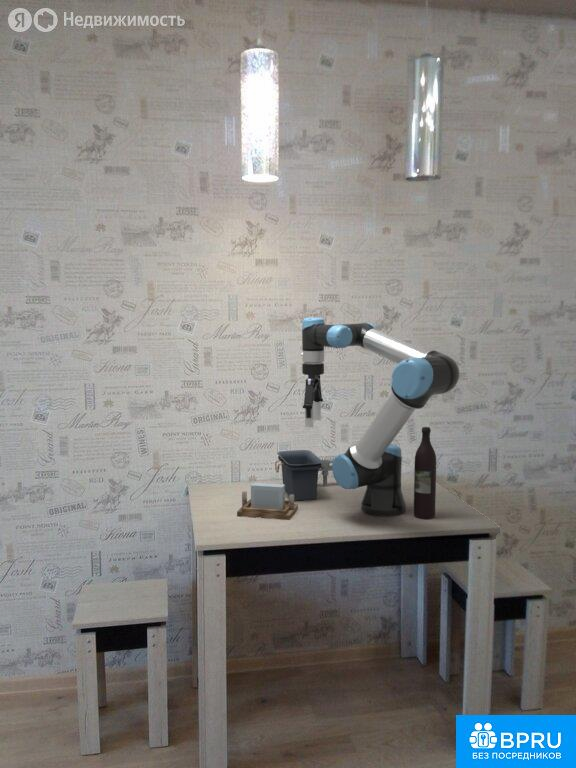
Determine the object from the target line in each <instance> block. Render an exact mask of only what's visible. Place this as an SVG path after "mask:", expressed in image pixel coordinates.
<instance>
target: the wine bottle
mask: <svg viewBox="0 0 576 768" xmlns="http://www.w3.org/2000/svg"><path fill="white" fill-rule="evenodd" d="M431 431H432V429H431V427H429V426H423V427H422V428H421V433H422V434H421V435H422V436H421V442H420V444H419V446H418V448H417V449H416V451H415V456H414V472H413V473H414V476H413V477H414V478H413V479H414V480H413V482H414V483H413V486H414V487H413V516H414V517H415V518H418V519H423V520H429V519H434V518H435V517H436V500H437V499H436V497H437V496H436V495H437V454H436V451H435V449H434V447H433V445H432V442H431Z"/></svg>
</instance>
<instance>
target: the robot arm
mask: <svg viewBox="0 0 576 768" xmlns="http://www.w3.org/2000/svg"><path fill="white" fill-rule="evenodd" d="M301 325H302V326H301V335H302V336H301V338H302V339H301V341H302V342H301V343H302V344H301V345H302V347H301V348H302V349H301V350H302V352H301V353H300V356H301V357H302V358H301V359H302V364H301V367H302V369H301V371H302V374H303V375H304V376H305V375H306V376H307V378H305V391H304V398H303V399H304V400H303V405H302V409H304V427H305V428H314V421H321V420H322V417H321V416H322V414H321V413H322V412H321V411H322V402H323V401H324V399H323V395H322V384H321V376H322V375H324V373H325V364H324V362H325V347H326V348H335V349H345V348H347V347H361V348H362V349H365V350H367V351H369V352H371V353H374V354H376V355H378V356H381V357H382V358H385V359H387V360H389V361H391V362H394V363H396V365H395V367H394V369H393V371H392V374H391V378H392V379H391V381H390V384H391V386H390V390H391V394H390V395H389V397H388V398H387V400H386V401H385V403H384V404H383V406H382V407H381V408H380V410H379V412H378V413H377V415H376V416H375V417H374V419H373V421H372V422H371V423H370V425H369V426H368V428H367V429H366V431H365V432H364V434H363V435H362V436H361V438H360V439H359V440H356V441H353V442H352V443H351V444H350V445H349V447H348V448H347V449H346V451H345V452H344V453H339V454H338V455H336V456H334V458H333V459H334V460H333V462H332V463H331V465H332V471H331V472H332V476H333V478H334V481H335V482H336V483H337V485H338V486H339V487H341V488H342V489H344V490H356V489H359V488H361V487H365V486H366V489H365V492H364V493H363V497H362V500H361V504H360V505H361V506H360V508H361V509H360V510H361V511H362V512H363V513H365V514H368V515H371V516H377V517H394V516H399V515H403V514H404V513H405V512H406V511H407V510H406V509H407V503H406V500H405V497H404V494H403V491H402V463H403V462H402V461H403V460H402V459H403V457H402V449H401V447H400V446H399V445H397V444H393V443H392V442H394V440H395V438H396V436H398V434H399V433H400V431H401V429H403V427H404V426H405V425H406V423H407V422H408V420H409V419H410V418H411V417H412V415H413V414H414V412H415V411H416V410H420V409H422V408H424V407H425V405H426V404H427V403H428V402H429V400H431V397H433V396H434V395H435V396H436V395H441V394H443V395H444V394H445V393H448V392H450V391H452V390H453V389H454V388H455V387H456V385H457V384H458V383H459V379H460V368H459V365H458V364H457V362H456V361H455V360H454V358H452V357H450V356H448V355H446V354H444V353H442V352H440V351H437V350H433V349H432V350H429V351H428V350H426V349H424V348H421V347H419V346H416V345H415V344H412V343H409V342H408V341H404V340H403V339H400V338H397V337H395V336H393V335H390V334H388V333H385V332H383V331H380V330H379V329H378V328H377V327H376V326H375V324H374V323H371V322H370V323H369V322H361V323H360V322H359V323H347V324H346V323H344V324H341V323H340V324H326V323H325V319H324V318H323V317H305V318H304V319H302V323H301Z"/></svg>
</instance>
